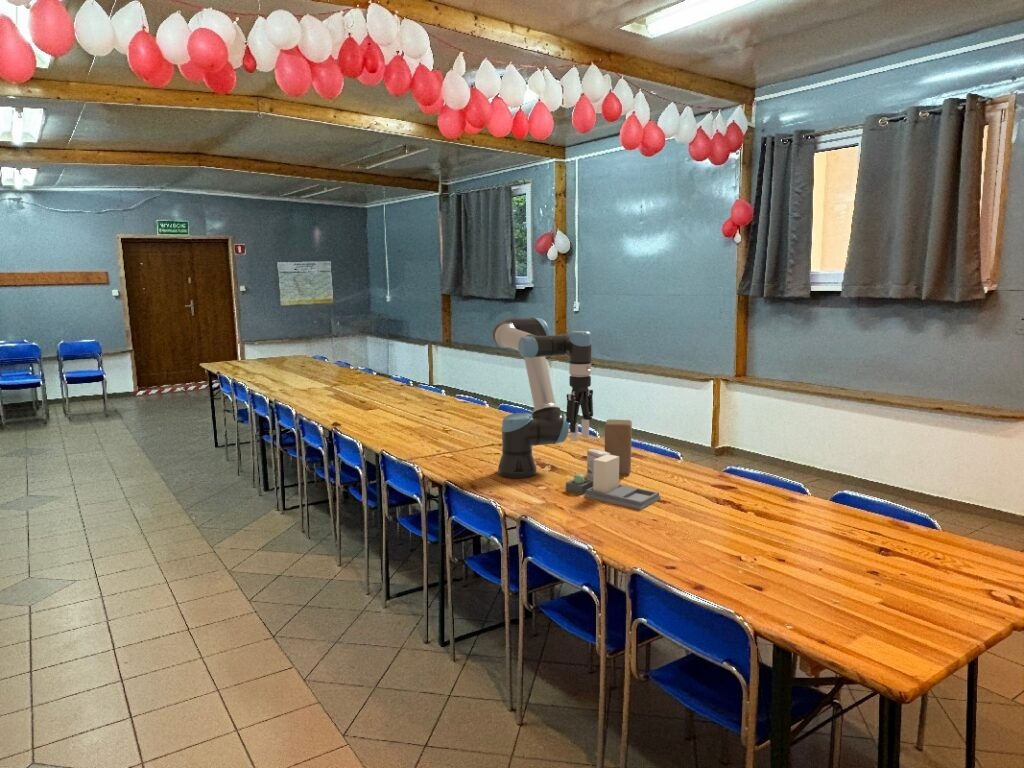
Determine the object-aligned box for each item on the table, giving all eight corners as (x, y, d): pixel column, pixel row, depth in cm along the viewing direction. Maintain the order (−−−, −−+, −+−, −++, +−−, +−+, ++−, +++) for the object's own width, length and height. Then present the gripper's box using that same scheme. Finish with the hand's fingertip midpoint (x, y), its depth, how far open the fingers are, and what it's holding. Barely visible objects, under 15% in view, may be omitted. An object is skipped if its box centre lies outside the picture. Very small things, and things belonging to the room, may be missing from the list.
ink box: (610, 483, 251) (611, 452, 249) (600, 485, 248) (600, 454, 246) (596, 477, 258) (597, 447, 256) (586, 479, 256) (586, 449, 254)
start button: (572, 486, 243) (572, 475, 242) (577, 484, 245) (577, 473, 245) (580, 488, 240) (580, 477, 240) (586, 485, 243) (586, 475, 243)
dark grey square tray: (565, 490, 243) (565, 482, 242) (576, 485, 248) (576, 478, 248) (582, 494, 238) (582, 486, 238) (592, 489, 244) (592, 481, 243)
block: (630, 475, 260) (631, 425, 257) (604, 474, 262) (604, 424, 259) (630, 468, 270) (631, 419, 267) (605, 467, 272) (606, 418, 269)
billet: (593, 492, 236) (593, 459, 234) (606, 486, 243) (607, 454, 241) (605, 495, 233) (606, 462, 231) (618, 489, 240) (619, 456, 238)
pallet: (584, 496, 236) (584, 490, 236) (605, 486, 247) (605, 480, 246) (640, 509, 222) (641, 502, 222) (660, 498, 233) (660, 492, 233)
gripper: (573, 379, 227) (573, 446, 230) (603, 372, 242) (603, 435, 245) (555, 377, 231) (555, 442, 235) (586, 371, 246) (585, 432, 250)
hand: (579, 439), depth 240 cm, fingers open, 6 cm apart
